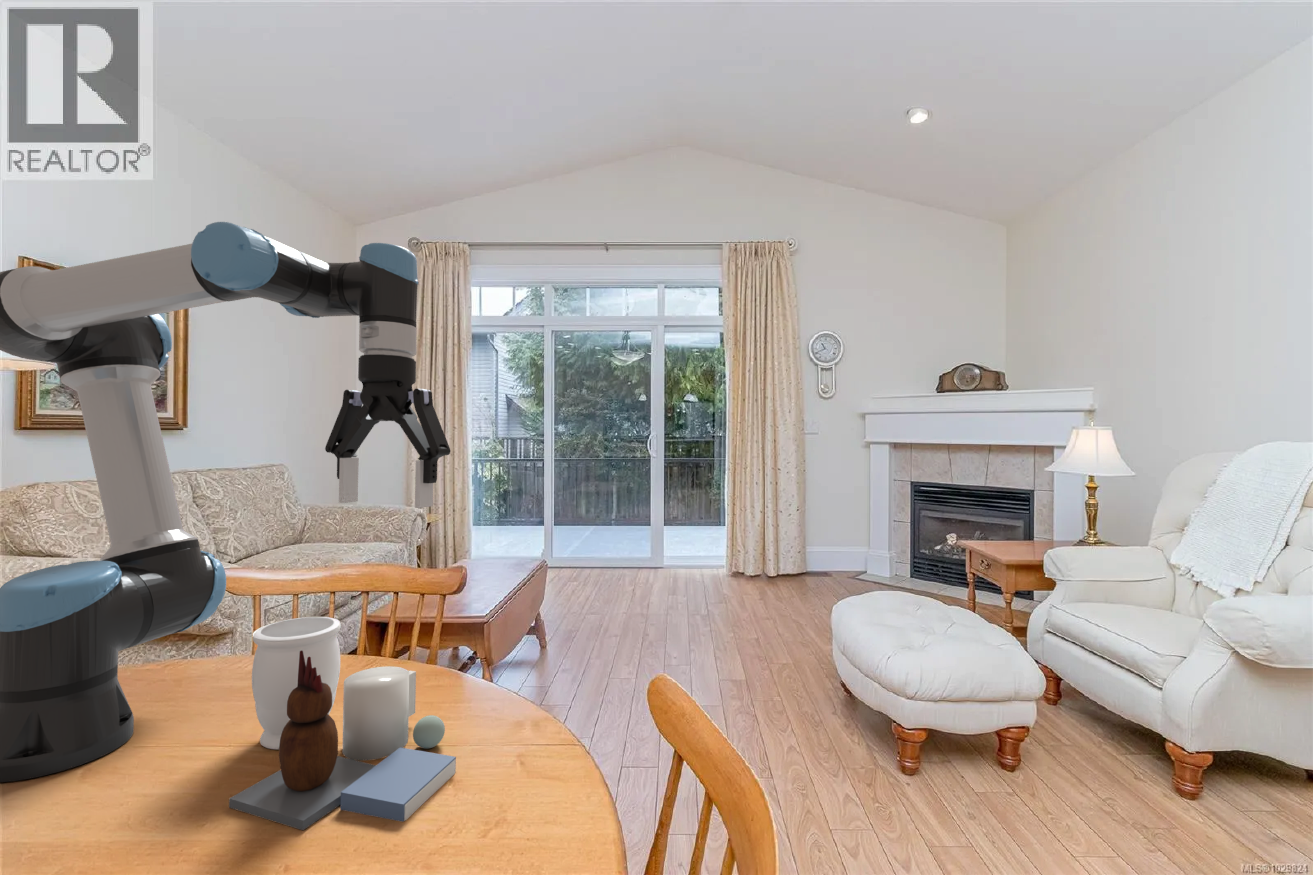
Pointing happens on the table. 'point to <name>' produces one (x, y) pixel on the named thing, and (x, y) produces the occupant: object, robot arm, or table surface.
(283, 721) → the jar
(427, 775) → the book
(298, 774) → the wooden figurine
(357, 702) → the mug
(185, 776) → the table surface
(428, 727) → the ball
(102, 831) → the table surface
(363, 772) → the coaster
